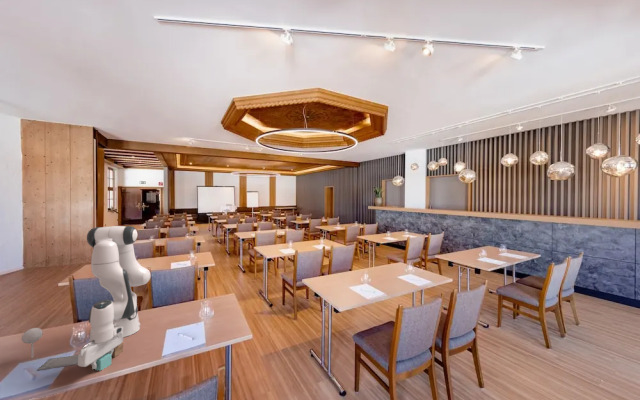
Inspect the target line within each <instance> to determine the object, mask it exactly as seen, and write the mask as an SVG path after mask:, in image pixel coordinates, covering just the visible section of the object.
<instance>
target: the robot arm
mask: <svg viewBox="0 0 640 400" xmlns="http://www.w3.org/2000/svg"><path fill="white" fill-rule="evenodd" d="M137 240H138V230H137V229H136V227H135V226H131V225H127V226H125V225H111V226H102V227H101V226H98V227H97V226H96V227H92V228H91V229H90V230H88V232H87V234H86V242H87V244H88V245H89V246H90V247H92V253H91V261H90V263H91V265H90V268H91V274H92V275H93V276H94V277H96V278H97V279H99V285H100V287H101V288H104V290H105V289H106V290H107V291H108V292H109V293H110V295H111V296H112V299H113V300H111V299H103V300H99V301H97V302H95V303H94V304H93V305H92V307H91V308H90V310H89V312H88V323H90V326H91V328H90V330H89V331H90V332H89V333H90V334H89V342H88V343H86V344H84V345H83V346H82V347H81V349H80V350H79V354H78V355H79V358H78V365H77V366H78V367H81V368H83V367H84V368H86V367H88V365H89V364H91V365H89V366H91V367H92V368H91V369H92V370H93V369H96V368H97V367H98V365H99V364H98V363H95V362H96V361H97V359H98V358H100V357H101V356H103V355H104V354H106V353H108V354H112V353H113V351H114V348H115V347H117V346H118V345H120V344H121V343H124V338H126V337H129V336H132V335H133V334H136V333H137V332H139V331H140V330H141V327H140V326H141V322H140V319H139V313H138V311H139V309H138V305H137V304H138V303H137V302H138V299H137V298H138V296H137V294H136V293H135V292H134V291H132V287H139V286H143V285H146V284H147V283H148V282H150V279H151V276H152V274H151V272H150V270H149V269H148V268H146V267H144V266H142V265H141V263H140V262H139V261H138V260H137V259H136V255H135V249H134V248H135V247H134V243H135V242H137Z"/></svg>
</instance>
